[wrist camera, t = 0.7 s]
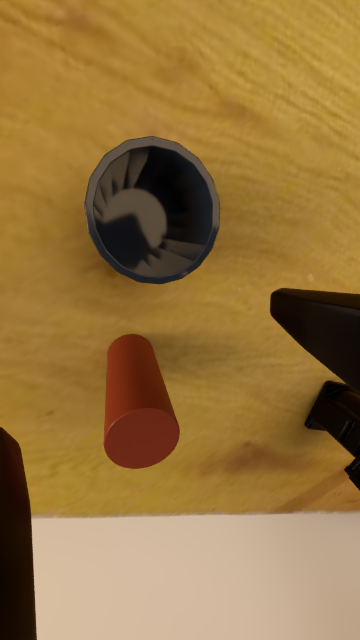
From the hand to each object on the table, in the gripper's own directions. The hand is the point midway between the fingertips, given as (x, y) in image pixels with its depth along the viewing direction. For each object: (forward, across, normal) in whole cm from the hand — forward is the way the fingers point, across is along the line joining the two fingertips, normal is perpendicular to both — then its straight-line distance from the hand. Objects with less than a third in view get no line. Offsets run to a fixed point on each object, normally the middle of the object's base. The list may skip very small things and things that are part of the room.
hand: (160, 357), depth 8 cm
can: (+14, -5, -1) cm, 14 cm away
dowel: (+12, 0, +9) cm, 15 cm away
